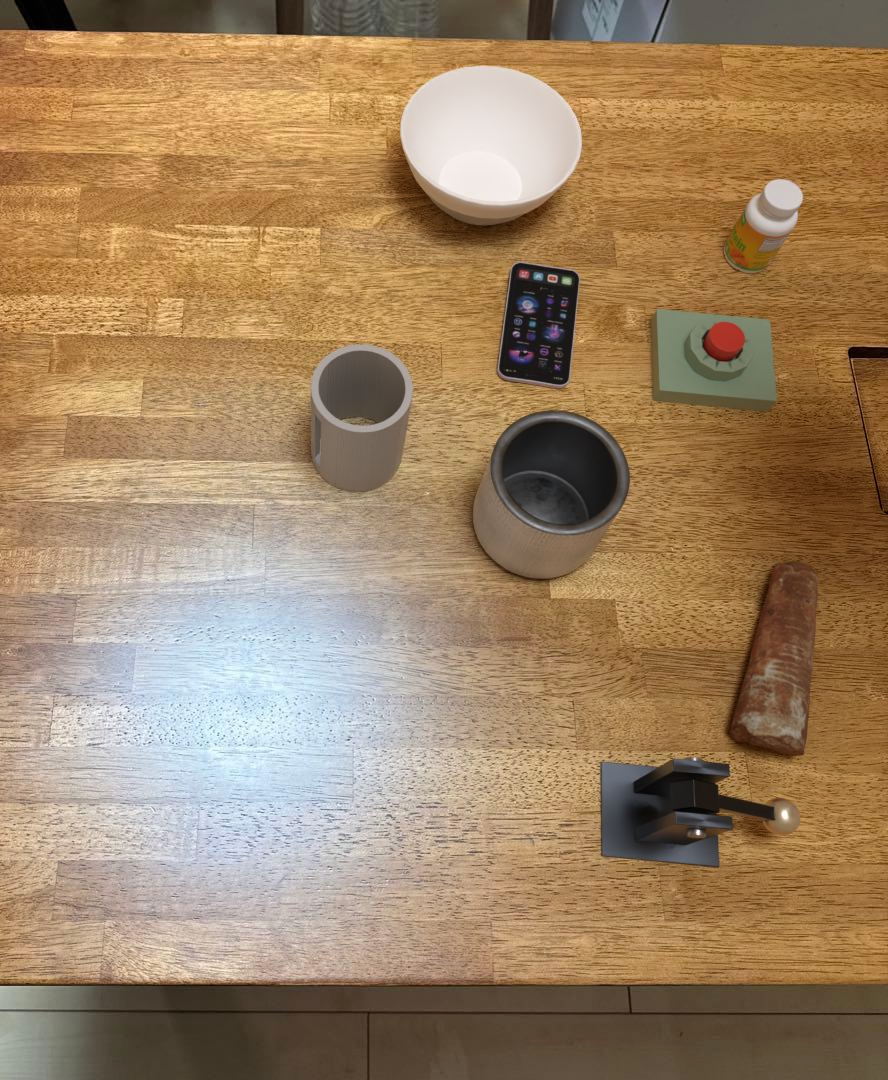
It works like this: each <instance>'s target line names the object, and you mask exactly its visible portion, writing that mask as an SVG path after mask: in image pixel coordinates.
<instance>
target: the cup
mask: <svg viewBox="0 0 888 1080" xmlns="http://www.w3.org/2000/svg"><path fill="white" fill-rule="evenodd" d="M310 381H311V382H310V455H311V460H312V463H313V466H314V468H315V470H316V471H317V473H318V474H319V476H321V478H323V480H325V482H327V483H328V484H330V485H331V486H333V487H335V488H338V489H340V490H343V491H346V492H351V493H362V492H369V491H372V490H376V489H377V488H380V487H383V486H384V485H385V484H386V483H388V482H389V481H390V480H392V478H393V477H394V476H395V475H396V474H397V472H398V470H399V468H400V466H401V463H402V460H403V454H404V448H405V442H406V438H407V437H406V436H407V432H408V431H407V430H408V427H409V426H408V424H409V419H410V414H411V409H412V408H411V407H412V402H413V395H414V386H413V385H414V383H413V379H412V376H411V374H410V372H409V369H408V368H407V366H406V365H405V364H404V363H403V361H402V360H401V359H399V357H397V356H396V355H395V354H394V353H393V352H390V351H388V350H387V349H384V348H382V347H379V346H377V345H376V346H375V345H371V344H367V343H366V344H349V345H345V346H342V347H340V348H336V349H334V350H333V351H332V352H330V353H328V354H327V355H326V356H325V357H324V358H323V359H322V360H321V361H320V362H319V363H318V364H317V365H316V368H315V370H314V372H313V374H312V377H311V379H310ZM348 418H364V419H368V420H372V421H373V422H376V423H374V424H369V425H357V424H353V423H352V424H351V423H348V422H345V421H343V420H344V419H348Z"/></svg>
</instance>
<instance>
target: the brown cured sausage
mask: <svg viewBox="0 0 888 1080" xmlns="http://www.w3.org/2000/svg"><path fill="white" fill-rule="evenodd" d="M818 594H819V575H818V573H817V572H816V570H815V569H814V568H813V567H812V566H811V565H809V564H807V563H805V562H802V561H797V560H795V561H794V560H793V561H786V562H781V563H777V564H776V565H774V566H773V567H772V569H771V576H770V581H769V585H768V589H767V593H766V597H765V599H764V603H763V606H762V609H761V613H760V617H759V622H758V625H757V628H756V633H755V635H754V636H755V637H754V640H753V643H752V648H751V651H750V652H751V653H750V658H749V661H748V666H747V667H746V668H747V669H746V672H745V675H744V679H743V681H742V685H741V689H740V693H739V697H738V700H737V704H736V707H735V710H734V715H733V718H732V722H731V727H730V730H729V734H730V737H731V739H733V740H734V741H735V742H737V743H748V744H749V745H750V746H756V747H760V748H764V749H767V750H770V751H773V752H777V753H781V754H784V755H787V756H792V757H801V756H804V755H805V749H806V743H807V737H808V727H809V717H810V705H811V684H812V674H813V669H814V668H813V667H814V654H815V643H816V631H817V630H816V628H817V610H818V597H819V595H818Z"/></svg>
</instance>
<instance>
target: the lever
mask: <svg viewBox="0 0 888 1080" xmlns="http://www.w3.org/2000/svg"><path fill="white" fill-rule="evenodd" d="M670 789H671V810H674V811H680V812H691V813H701V814H713V813H717V814H719V813H720V812H721V813H727V814H731V815H735V816H740V817H745V818H750V819H754V820H758V821H762V824H763V825H764V827H765V828H766V829H767V830H768V831H769V832H770V833H772V834H774V835H777V836H789V835H792V834H793V833H795V832H796V831H797V830H798V828H799V826H800V824H801V818H802V817H801V813H800V810H799V808H798V806H797V805H796V804H795V803H794V802H793V801H791V800H790V799H787V798H783V797H774V798H771V799H769V800H767V802H765V803H764V804H763V803H759V802H755V801H751V800H746V799H741V798H737V797H733V796H728V795H724V794H720V792H719V784H717V783H715V784H713V783H709V782H705V781H700V780H696V779H688V780H681V781H674V782H670Z"/></svg>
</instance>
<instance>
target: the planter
mask: <svg viewBox="0 0 888 1080" xmlns="http://www.w3.org/2000/svg"><path fill="white" fill-rule="evenodd" d="M630 473H631V472H630V467H629V463H628V460H627V456H626V454H625V452H624V450H623V448H622V447H621V445H620V443H619V442H618V441H617V440H616V439H615V437H614V436H613V435H612V434H611V433H610V432H609V431H608V430H607V428H605V427H603V426H602V425H601V424H599V423H597V422H596V421H594V420H593V419H591V418H589V417H587V416H585V415H581V414H579V413H576V412H572V411H567V410H559V409H558V410H557V409H549V410H548V409H547V410H540V411H535V412H532V413H529V414H526V415H524V416H522V417H520V418H518V419H516V420H515V421H513V422H512V423H511V424H509V425H508V426H507V427H505V429H504V430H503V432H502V433H501V434H500V436H499V437H498V438H497V440H496V442H495V444H494V446H493V449H492V452H491V453H490V457H489V459H488V462H487V465H486V468H485V471H484V473H483V476H482V478H481V481H480V483H479V486H478V489H477V491H476V494H475V496H474V500H473V505H472V523H473V529H474V532H475V535H476V537H477V540H478V542H479V544H480V545H481V547H482V549H483V550H484V551H485V553H486V554H487V555H488V556H489V558H491V559H492V560H493V561H494V562H495V563H497V565H499V566H500V567H502V568H504V569H505V570H507V571H508V572H510V573H513V574H514V575H515V574H516V575H518V576H520V577H521V576H522V577H525V578H530V579H536V580H537V579H538V580H542V579H543V580H544V579H545V580H547V579H554V578H559V577H562V576H565V575H567V574H570V573H572V572H574V571H575V570H578V568H580V567H581V566H583V564H585V563H586V562H587V561H588V560H589V559H590V558H591V556H592V555H593V554H594V553H595V551H596V550H597V548H598V546H599V545H600V543H601V541H602V540H603V538H604V537H605V535H606V534H607V531H608V530H609V529H610V527H611V525H612V524H613V522H614V521H615V519H616V518H617V516H618V514H619V513H620V512H621V510H622V508H623V506H624V504H625V502H626V500H627V498H628V495H629V490H630V484H631V474H630Z"/></svg>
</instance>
